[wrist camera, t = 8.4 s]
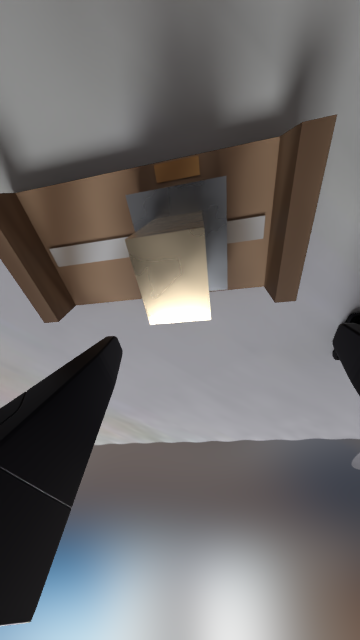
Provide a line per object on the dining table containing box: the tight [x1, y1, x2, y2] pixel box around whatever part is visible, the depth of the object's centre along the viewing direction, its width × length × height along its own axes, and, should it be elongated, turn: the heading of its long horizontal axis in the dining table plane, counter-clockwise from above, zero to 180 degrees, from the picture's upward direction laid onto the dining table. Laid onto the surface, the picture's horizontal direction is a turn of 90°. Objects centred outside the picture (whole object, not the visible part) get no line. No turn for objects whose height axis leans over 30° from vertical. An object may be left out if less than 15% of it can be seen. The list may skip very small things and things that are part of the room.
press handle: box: [125, 176, 228, 324], centre depth 11 cm, size 6×7×8 cm
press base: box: [0, 115, 337, 323], centre depth 15 cm, size 22×10×4 cm, turn 99°
